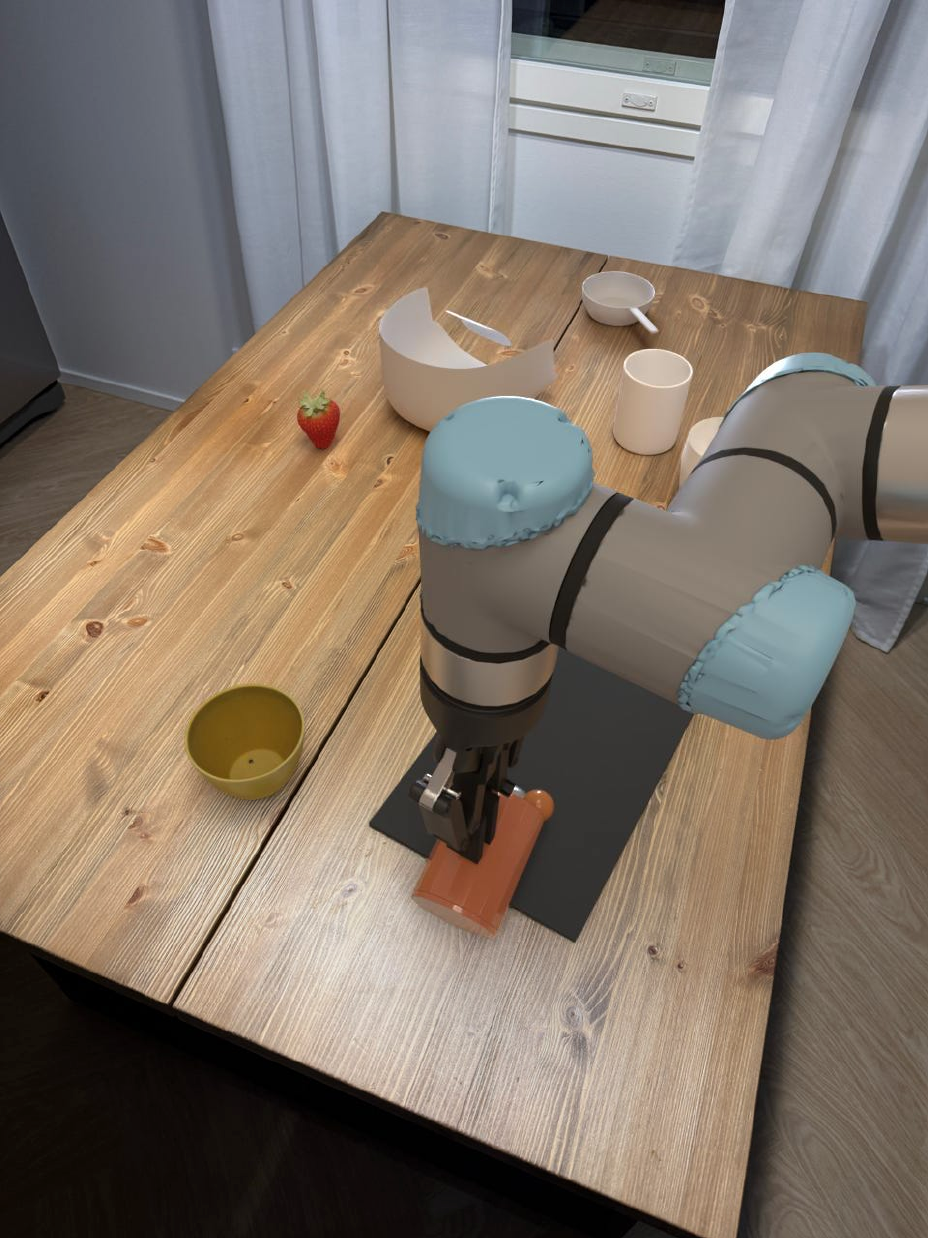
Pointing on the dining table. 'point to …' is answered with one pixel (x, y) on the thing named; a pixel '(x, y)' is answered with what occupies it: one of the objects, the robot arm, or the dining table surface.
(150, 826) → the dining table surface
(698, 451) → the cup
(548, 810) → the brown piece
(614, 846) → the mat
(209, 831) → the dining table surface
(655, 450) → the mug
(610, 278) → the small pan
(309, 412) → the fruit
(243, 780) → the flower pot
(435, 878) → the spoon cup
